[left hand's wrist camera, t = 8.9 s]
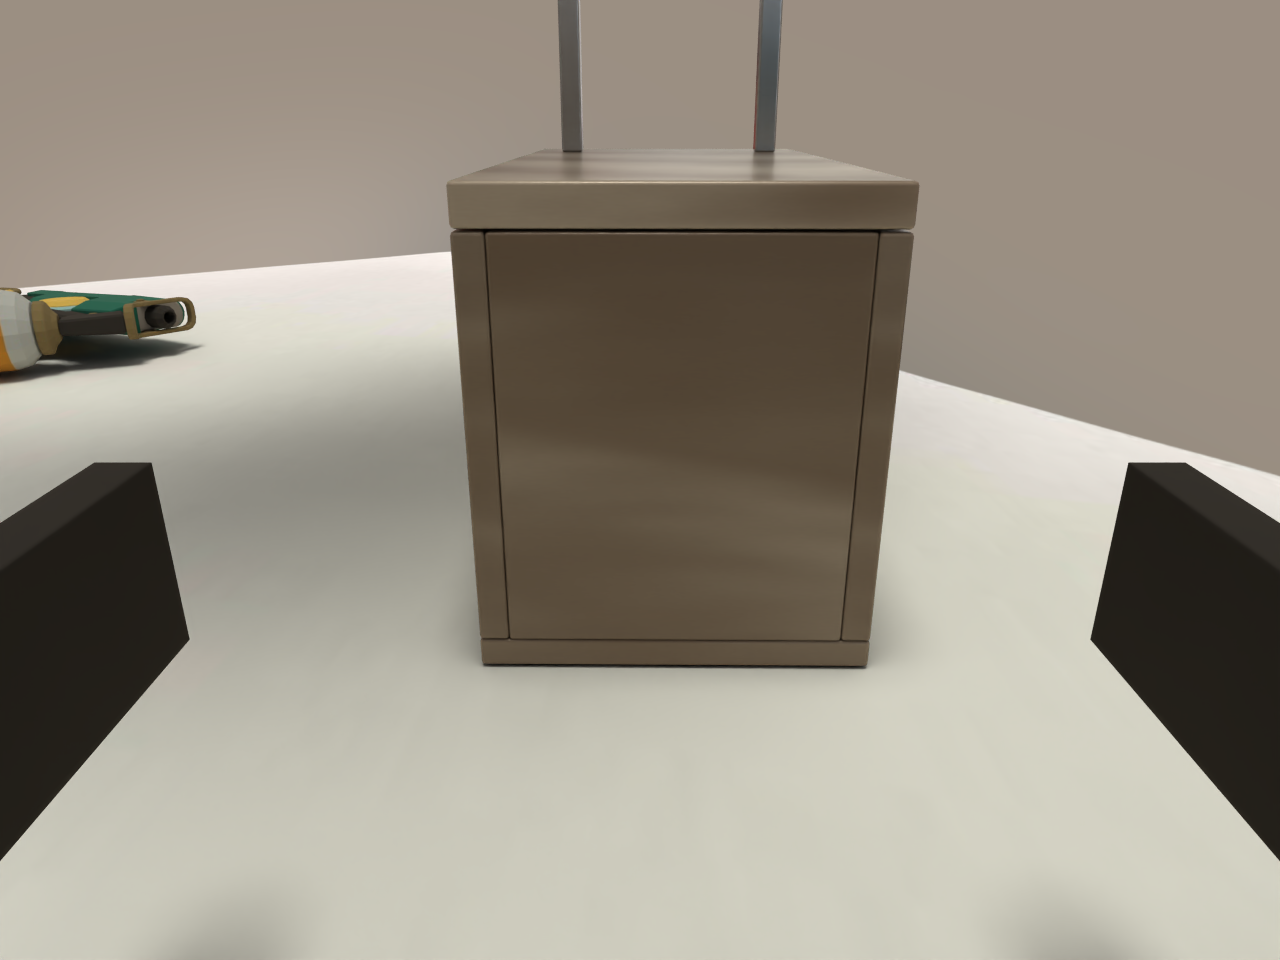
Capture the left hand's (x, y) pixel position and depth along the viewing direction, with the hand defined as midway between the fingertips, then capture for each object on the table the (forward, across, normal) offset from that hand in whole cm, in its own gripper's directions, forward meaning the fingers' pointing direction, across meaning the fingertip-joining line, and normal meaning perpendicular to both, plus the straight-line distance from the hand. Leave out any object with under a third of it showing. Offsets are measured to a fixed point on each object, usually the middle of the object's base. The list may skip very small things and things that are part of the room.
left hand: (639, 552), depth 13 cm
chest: (+16, +1, -7) cm, 18 cm away
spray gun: (+40, -35, -7) cm, 54 cm away
